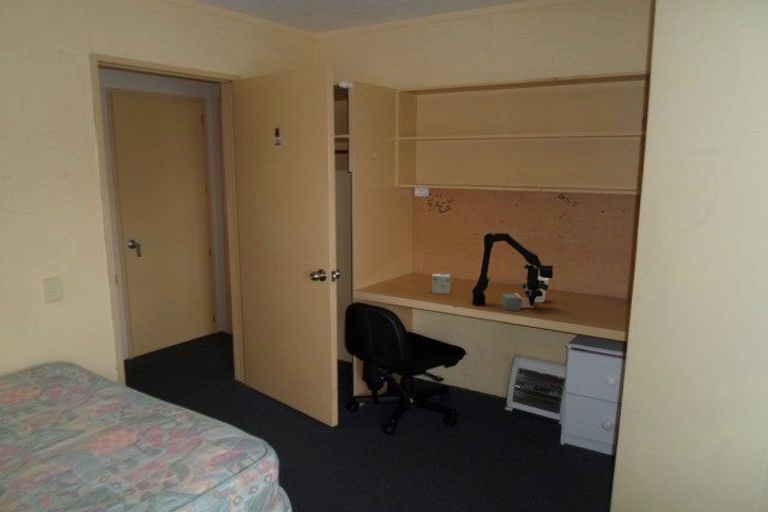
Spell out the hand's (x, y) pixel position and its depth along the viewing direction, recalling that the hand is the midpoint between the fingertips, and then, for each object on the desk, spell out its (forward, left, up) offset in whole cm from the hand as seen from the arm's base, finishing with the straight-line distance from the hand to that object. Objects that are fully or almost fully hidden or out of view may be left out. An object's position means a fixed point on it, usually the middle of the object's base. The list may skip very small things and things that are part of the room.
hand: (531, 305), depth 294 cm
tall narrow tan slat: (-4, 0, -1) cm, 4 cm away
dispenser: (-11, 0, -1) cm, 11 cm away
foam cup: (+8, +14, -2) cm, 16 cm away
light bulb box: (-44, +35, -2) cm, 56 cm away
